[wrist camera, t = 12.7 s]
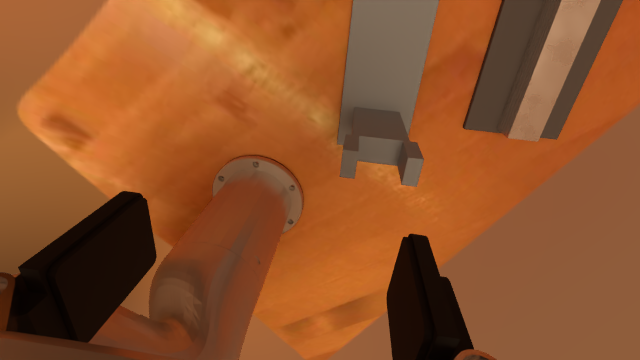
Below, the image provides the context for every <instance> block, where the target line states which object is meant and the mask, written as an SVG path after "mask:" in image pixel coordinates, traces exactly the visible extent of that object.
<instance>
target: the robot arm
mask: <svg viewBox="0 0 640 360" xmlns="http://www.w3.org/2000/svg"><path fill="white" fill-rule="evenodd" d="M257 162H258V163H257ZM292 185H294V186H292ZM212 195H213V199H212V200H211V201H210V202H209V204H208V205H207V206H206V207H205V209H204V210H203V211H202V212H201V214H200V215H199V216H198V217H197V219H196V220H195V221H194V222H193V224H192V225H191V226H190V227H189V229H188V230H187V231H186V232H185V234H184V235H183V236H182V237H181V239H180V240H179V241H178V242H177V244H176V245H175V246H174V247H173V249H172V250H171V251H170V253H169V254H168V255H167V256H166V258H165V259H164V260H163V261H162V263H161V264H160V266H159V267H158V269H157V271H156V273H155V276H154V278H153V281H152V284H151V289H150V296H149V317H150V319H149V318H147V317H145V316H143V315H138V314H136V313H134V312H132V311H130V310H128V309H126V308H124V307H122V306H120V304H121V303H122V302H123V301H124V300H125V298H126V297H127V296H128V295H129V293H130V292H131V291H132V290H133V289H134V287H135V286H136V285H137V284H138V283H139V281H140V280H141V279H142V278H143V277H144V275H145V274H146V273H147V272H148V271H149V269H150V268H151V267H152V266H153V264H154V263H155V261H156V250H155V244H154V238H153V232H152V226H151V221H150V215H149V209H148V204H147V200H146V199H145V198H143V196H142V194H140V193H135V192H128V191H123V192H121V193H119V194H118V195H116V196H115V197H114V198H112V199H111V200H110V201H108V202H107V203H105V204H104V205H103V206H101V207H100V208H99V209H97V210H96V211H94V212H93V213H92V214H91V215H89V216H88V217H86V218H85V219H83V220H82V221H81V222H79V223H78V224H77V225H75V226H74V227H73V228H71V229H70V230H68V231H67V232H66V233H64V234H63V235H62V236H60V237H59V238H58V239H56V240H55V241H53V242H52V243H51V244H49V245H48V246H47V247H45V248H44V249H42V250H41V251H40V252H38V253H37V254H35V255H34V256H33V257H31V258H30V259H29V260H27V261H26V262H25V263H23V264H22V265H21V266H19V267H18V268H19V270H20V273H17V274H13V275H11V274H9V273H5V272H0V360H239V357H240V353H241V349H242V345H243V342H244V339H245V335H246V332H247V329H248V326H249V323H250V320H251V317H252V314H253V311H254V308H255V306H256V303H257V300H258V297H259V295H260V292H261V289H262V287H263V284H264V281H265V279H266V276H267V273H268V270H269V268H270V265H271V262H272V259H273V257H274V254H275V251H276V248H277V246H278V243H279V240H280V237H281V235H282V234H283V233H285V232H287V231H288V230H290V229H291V228H292V227H293V226H294V225H295V224H296V223H297V221H298V220H299V218H300V215H301V213H302V209H303V193H302V190H301V187H300V185H299V183H298V181H297V180H296V178H295V177H294V176H293V175H292V173H291V172H290V171H289V170H288V169H286V168H285V167H284V166H282V165H281V164H279V163H277V162H276V161H274V160H271V159H268V158H265V157H260V156H243V157H238V158H236V159H234V160H231V161H230V162H228V163H227V164H226V165H224V166H223V167H222V169H221V170H220V171H219V172H218V173H217V175H216V177H215V179H214V182H213V187H212ZM387 310H388V318H389V328H390V338H391V348H392V357H393V360H496V359H495V358H494V357H492V356H490V355H489V354H487V353H484V352H482V351H479V350H474V347H473V345H472V342H471V339H470V336H469V334H468V331H467V328H466V325H465V322H464V319H463V317H462V314H461V311H460V308H459V305H458V302H457V300H456V297H455V294H454V291H453V288H452V286H451V283H450V281H449V279H448V278H447V277H441V276H440V274H439V271H438V268H437V265H436V262H435V259H434V256H433V253H432V250H431V247H430V243H429V240H428V238H427V236H423V235H417V234H409V236H408V237H403V239H402V242H401V246H400V249H399V253H398V256H397V260H396V263H395V267H394V270H393V274H392V277H391V281H390V284H389V288H388V291H387Z"/></svg>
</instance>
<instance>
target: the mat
mask: <svg viewBox="0 0 640 360" xmlns="http://www.w3.org/2000/svg"><path fill="white" fill-rule="evenodd" d="M622 1H623V0H601V1H600V3H599V6H598V8H597V10H596V12H595V15H594V17H593V19H592V21H591V24H590V26H589V28H588V30H587V33H586V35H585V37H584V39H583V42H582V44H581V46H580V48H579V51H578V53H577V55H576V57H575V60H574V62H573V64H572V66H571V69H570V71H569V73H568V75H567V77H566V80H565V82H564V84H563V86H562V89H561V91H560V93H559V95H558V98H557V100H556V102H555V104H554V107H553V109H552V111H551V113H550V116H549V118H548V120H547V122H546V125H545V127H544V129H543V131H542V134H541V136H540V138H549V139H557V138H558V136H559V134H560V132H561V130H562V128H563V126H564V123H565V121H566V119H567V117H568V115H569V113H570V111H571V109H572V107H573V104H574V102H575V100H576V98H577V96H578V94H579V92H580V90H581V88H582V86H583V83H584V81H585V79H586V77H587V75H588V73H589V71H590V69H591V67H592V64H593V62H594V60H595V58H596V56H597V54H598V52H599V50H600V48H601V45H602V43H603V41H604V39H605V37H606V35H607V33H608V31H609V29H610V26H611V24H612V22H613V20H614V18H615V16H616V14H617V12H618V10H619V8H620V5H621V3H622ZM543 2H544V0H502V4H501V7H500V10H499V13H498V16H497V20H496V23H495V26H494V29H493V32H492V36H491V39H490V42H489V45H488V48H487V52H486V55H485V58H484V61H483V64H482V68H481V71H480V74H479V77H478V80H477V84H476V87H475V90H474V93H473V96H472V99H471V103H470V106H469V109H468V112H467V115H466V119H465V122H464V125H463V128H464V129H469V130H478V131H487V132H496V133H501V132H500V131H499V130H498V129H497V127H498V124H499V121H500V119H501V116H502V113H503V110H504V108H505V105H506V102H507V100H508V97H509V94H510V91H511V89H512V86H513V83H514V81H515V78H516V75H517V72H518V70H519V67H520V64H521V62H522V59H523V56H524V54H525V51H526V48H527V45H528V43H529V40H530V37H531V35H532V32H533V29H534V26H535V24H536V21H537V18H538V16H539V13H540V10H541V8H542V5H543Z"/></svg>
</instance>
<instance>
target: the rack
mask: <svg viewBox="0 0 640 360" xmlns="http://www.w3.org/2000/svg"><path fill="white" fill-rule="evenodd" d="M438 3H439V0H353V8H352V17H351V26H350V34H349V43H348V52H347V61H346V70H345V79H344V88H343V97H342V105H341V114H340V123H339V132H338V141H337V144H339V145H344V147H343V154H342V162H341V170H340V177H345V178H353V179H354V178H355V172H356V165H357V161H363V162H371V163H379V164H387V165H395V166H398V170H399V175H400V179H401V184H402V185H408V186H416V187H417V184H418V180H419V176H420V172H421V169H422V165H423V161H424V158H423V156H422V154H421V151H420V149H419V146H418V144H417V143H416V142H410V140H409V137H408V134H409V130H410V126H411V121H412V117H413V113H414V108H415V104H416V99H417V95H418V91H419V86H420V82H421V77H422V73H423V69H424V64H425V60H426V55H427V51H428V47H429V42H430V38H431V34H432V29H433V25H434V20H435V16H436V12H437V7H438Z"/></svg>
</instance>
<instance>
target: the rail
mask: <svg viewBox="0 0 640 360" xmlns="http://www.w3.org/2000/svg"><path fill="white" fill-rule="evenodd" d="M600 1H601V0H544V2H543V5H542V8H541V10H540V13H539V16H538V18H537V21H536V24H535V26H534V29H533V32H532V35H531V37H530V40H529V43H528V45H527V48H526V51H525V54H524V56H523V59H522V62H521V64H520V67H519V70H518V72H517V75H516V78H515V81H514V83H513V86H512V89H511V91H510V94H509V97H508V100H507V102H506V105H505V108H504V110H503V113H502V116H501V119H500V121H499V124H498V127H497V129H498V130H499V131H500V132H501V133H503V134H504V135H505V136H506V137H507V138H512V139H521V140H529V141H538V140H539V138H540V136H541V134H542V131H543V129H544V127H545V125H546V122H547V120H548V118H549V116H550V113H551V111H552V109H553V107H554V104H555V102H556V100H557V98H558V95H559V93H560V91H561V89H562V86H563V84H564V82H565V80H566V77H567V75H568V73H569V71H570V69H571V66H572V64H573V62H574V60H575V57H576V55H577V53H578V51H579V48H580V46H581V44H582V42H583V39H584V37H585V35H586V33H587V30H588V28H589V26H590V24H591V21H592V19H593V17H594V15H595V12H596V10H597V8H598V6H599V3H600Z"/></svg>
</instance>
